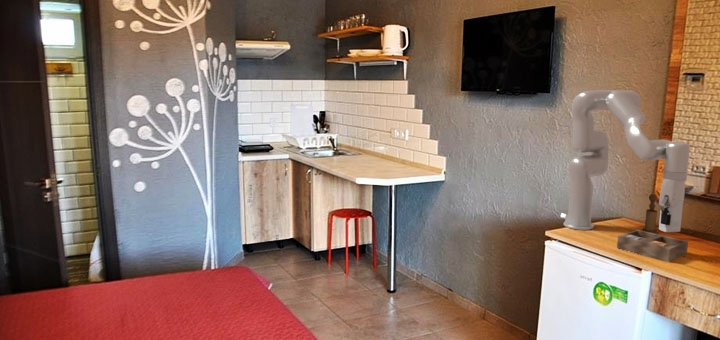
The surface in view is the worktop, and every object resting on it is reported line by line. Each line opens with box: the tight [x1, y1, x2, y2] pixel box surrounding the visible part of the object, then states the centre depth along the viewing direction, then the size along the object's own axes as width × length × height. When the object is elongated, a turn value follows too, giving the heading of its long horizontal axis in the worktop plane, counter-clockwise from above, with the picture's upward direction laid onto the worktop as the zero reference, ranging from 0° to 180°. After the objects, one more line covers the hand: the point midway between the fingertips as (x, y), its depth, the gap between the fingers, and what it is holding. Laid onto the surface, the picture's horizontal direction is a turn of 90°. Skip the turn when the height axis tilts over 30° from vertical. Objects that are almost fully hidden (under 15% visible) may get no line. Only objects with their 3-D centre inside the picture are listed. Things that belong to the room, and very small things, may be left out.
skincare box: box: [658, 200, 684, 233], centre depth 201 cm, size 6×4×12 cm
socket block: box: [616, 229, 689, 263], centre depth 205 cm, size 19×15×5 cm
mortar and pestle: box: [640, 193, 659, 234], centre depth 223 cm, size 7×6×18 cm
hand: (670, 222), depth 201 cm, fingers closed on skincare box, 7 cm apart
